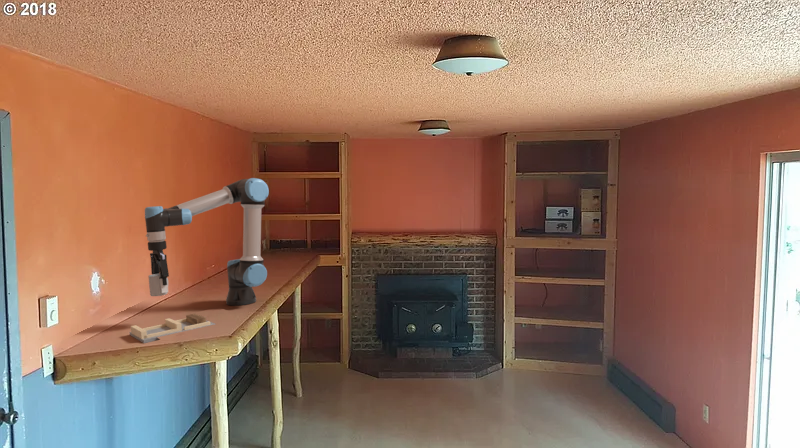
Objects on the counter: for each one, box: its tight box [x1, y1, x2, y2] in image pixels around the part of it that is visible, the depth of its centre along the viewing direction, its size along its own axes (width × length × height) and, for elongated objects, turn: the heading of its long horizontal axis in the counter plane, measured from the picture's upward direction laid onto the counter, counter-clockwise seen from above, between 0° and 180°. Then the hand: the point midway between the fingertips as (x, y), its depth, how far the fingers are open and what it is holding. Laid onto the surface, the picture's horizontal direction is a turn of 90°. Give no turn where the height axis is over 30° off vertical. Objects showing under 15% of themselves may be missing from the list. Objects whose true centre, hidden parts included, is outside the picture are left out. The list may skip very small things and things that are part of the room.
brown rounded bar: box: [185, 313, 207, 325], centre depth 233 cm, size 4×12×3 cm, turn 44°
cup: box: [148, 274, 169, 297], centre depth 237 cm, size 7×10×9 cm
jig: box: [129, 317, 216, 344], centre depth 226 cm, size 30×18×4 cm, turn 134°
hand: (161, 291), depth 237 cm, fingers closed on cup, 7 cm apart
